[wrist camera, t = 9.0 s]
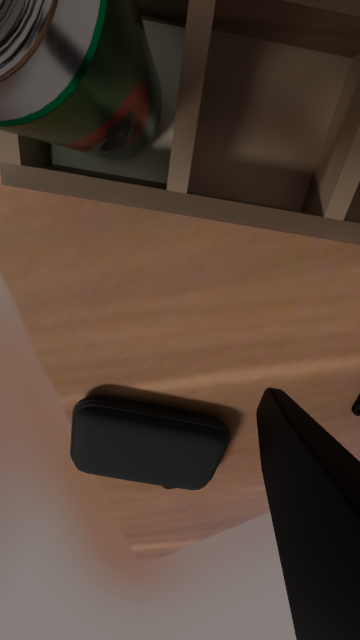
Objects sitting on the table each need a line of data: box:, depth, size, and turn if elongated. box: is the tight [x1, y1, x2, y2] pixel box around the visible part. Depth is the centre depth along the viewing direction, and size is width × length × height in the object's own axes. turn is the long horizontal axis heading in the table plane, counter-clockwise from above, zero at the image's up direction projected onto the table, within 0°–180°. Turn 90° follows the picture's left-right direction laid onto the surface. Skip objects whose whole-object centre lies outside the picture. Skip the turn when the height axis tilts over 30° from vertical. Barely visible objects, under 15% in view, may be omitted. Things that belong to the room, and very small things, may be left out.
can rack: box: [0, 0, 360, 245], centre depth 13 cm, size 10×25×4 cm, turn 81°
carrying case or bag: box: [70, 396, 231, 490], centre depth 26 cm, size 11×3×15 cm
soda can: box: [0, 0, 162, 160], centre depth 9 cm, size 5×5×12 cm
